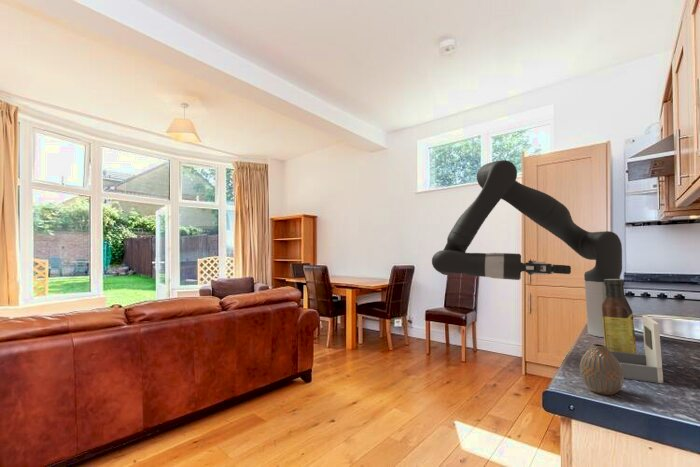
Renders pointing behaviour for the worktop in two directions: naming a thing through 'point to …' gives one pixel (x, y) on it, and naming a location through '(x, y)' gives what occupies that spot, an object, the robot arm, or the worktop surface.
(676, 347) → the worktop surface
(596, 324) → the robot arm
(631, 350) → the sauce bottle
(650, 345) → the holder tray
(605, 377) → the vase
